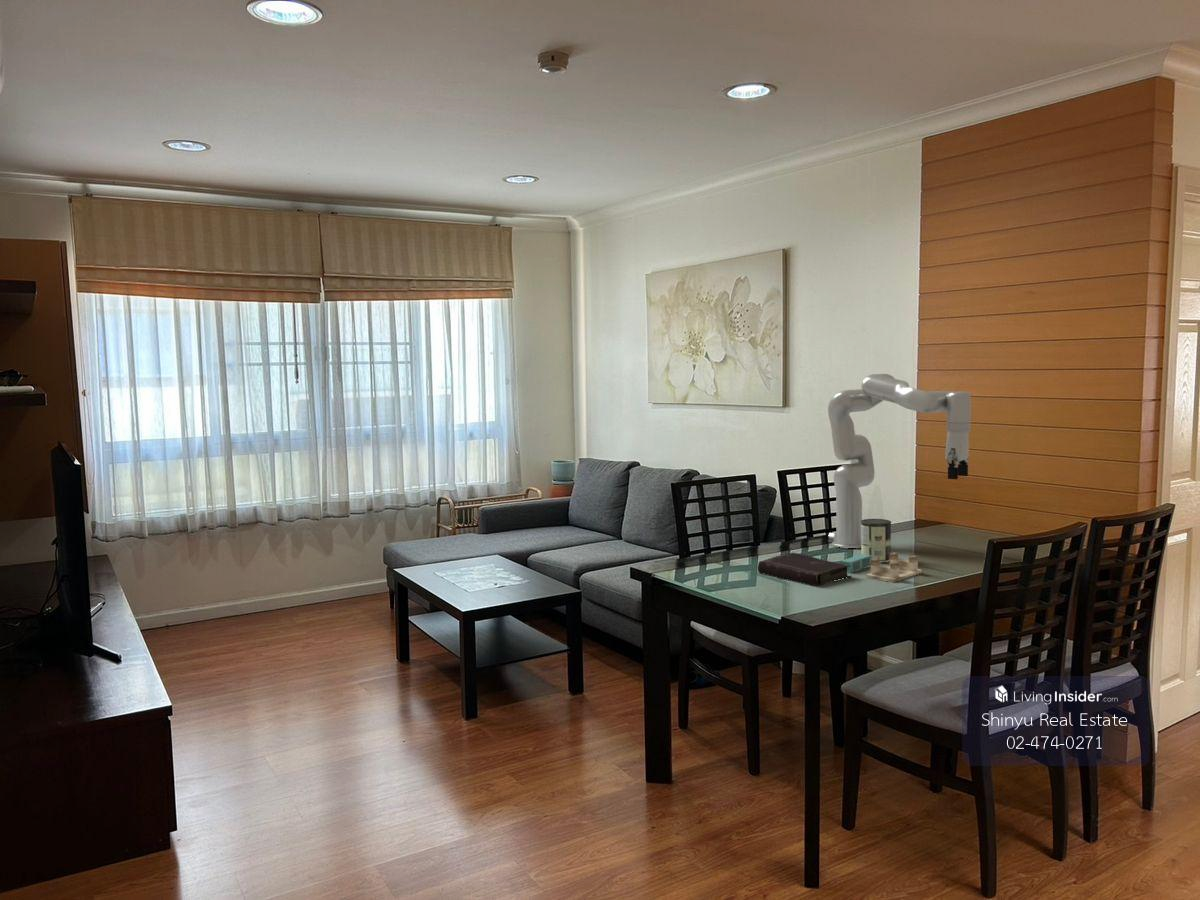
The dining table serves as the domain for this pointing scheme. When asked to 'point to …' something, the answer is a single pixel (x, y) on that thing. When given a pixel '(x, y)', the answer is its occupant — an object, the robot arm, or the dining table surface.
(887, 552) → the coffee can
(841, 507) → the robot arm
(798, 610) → the dining table surface
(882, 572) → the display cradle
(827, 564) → the diary
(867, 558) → the teal rectangular block
